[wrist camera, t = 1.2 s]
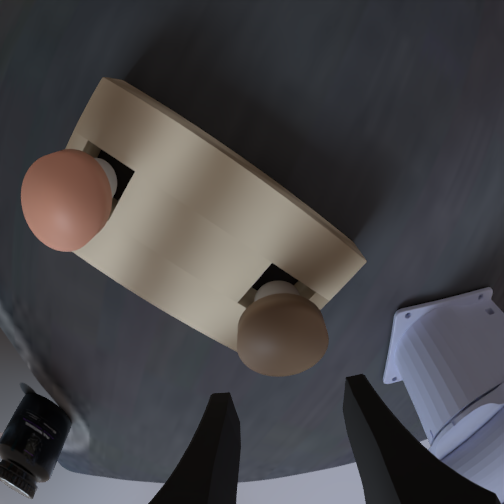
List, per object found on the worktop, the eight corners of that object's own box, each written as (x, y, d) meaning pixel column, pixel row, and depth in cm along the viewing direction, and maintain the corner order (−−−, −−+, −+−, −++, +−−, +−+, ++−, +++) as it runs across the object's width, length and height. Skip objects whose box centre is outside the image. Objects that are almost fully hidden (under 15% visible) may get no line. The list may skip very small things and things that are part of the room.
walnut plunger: (312, 261, 15) (328, 303, 12) (316, 323, 17) (328, 369, 14) (233, 272, 16) (228, 316, 12) (245, 333, 17) (244, 380, 14)
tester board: (353, 242, 18) (366, 261, 16) (261, 338, 21) (262, 364, 19) (122, 80, 14) (102, 77, 11) (58, 210, 17) (36, 225, 14)
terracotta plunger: (122, 131, 12) (84, 140, 9) (141, 212, 14) (112, 243, 11) (55, 154, 13) (11, 170, 9) (75, 226, 14) (39, 257, 11)
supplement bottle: (60, 399, 26) (22, 488, 15) (79, 432, 28) (52, 510, 18) (16, 384, 25) (-25, 460, 14) (37, 417, 28) (6, 488, 17)
